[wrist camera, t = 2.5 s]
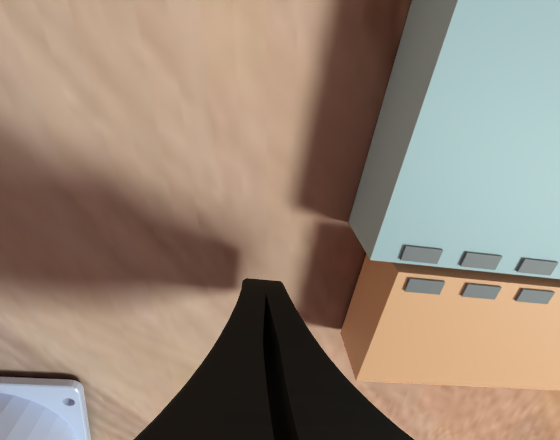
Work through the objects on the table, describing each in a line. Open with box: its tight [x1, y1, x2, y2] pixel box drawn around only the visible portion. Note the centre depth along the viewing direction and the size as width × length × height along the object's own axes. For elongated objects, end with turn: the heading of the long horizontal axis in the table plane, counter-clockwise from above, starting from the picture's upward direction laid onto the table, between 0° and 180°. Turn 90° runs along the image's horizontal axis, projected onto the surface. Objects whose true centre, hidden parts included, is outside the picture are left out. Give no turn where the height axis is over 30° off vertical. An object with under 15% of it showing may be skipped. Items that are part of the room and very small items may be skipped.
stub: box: [341, 254, 560, 390], centre depth 13 cm, size 5×10×2 cm, turn 81°
